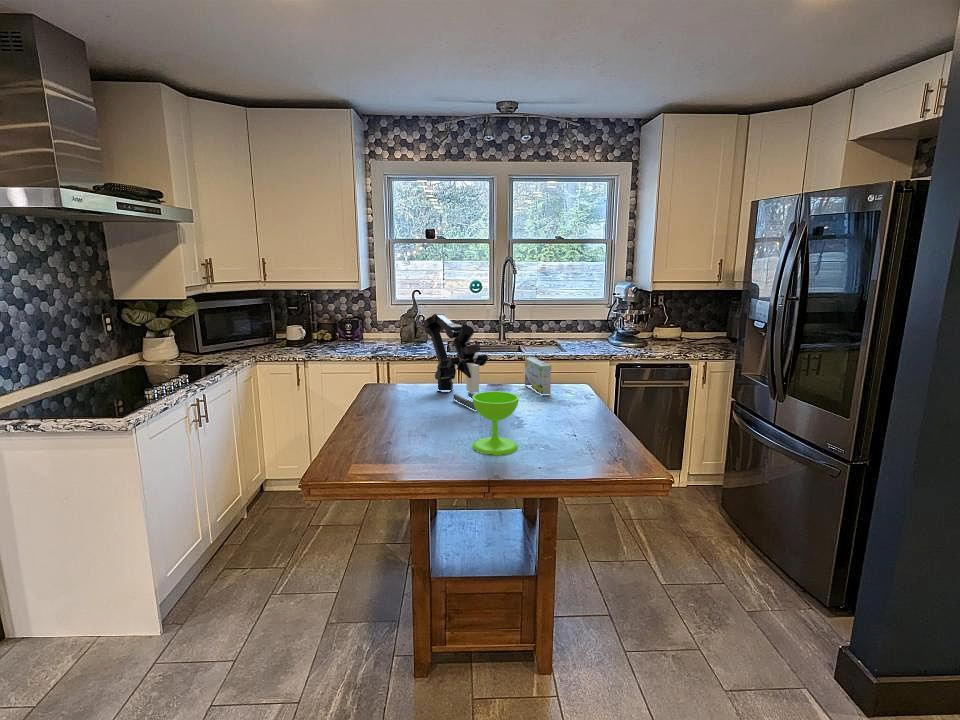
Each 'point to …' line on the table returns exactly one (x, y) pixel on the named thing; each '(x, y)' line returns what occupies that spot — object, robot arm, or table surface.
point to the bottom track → (465, 400)
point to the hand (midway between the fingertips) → (474, 377)
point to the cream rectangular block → (473, 378)
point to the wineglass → (495, 420)
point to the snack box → (538, 375)
